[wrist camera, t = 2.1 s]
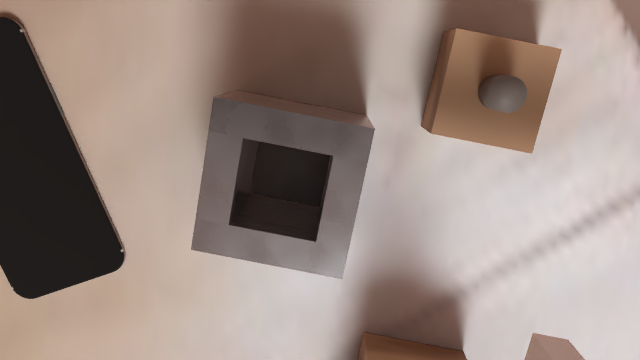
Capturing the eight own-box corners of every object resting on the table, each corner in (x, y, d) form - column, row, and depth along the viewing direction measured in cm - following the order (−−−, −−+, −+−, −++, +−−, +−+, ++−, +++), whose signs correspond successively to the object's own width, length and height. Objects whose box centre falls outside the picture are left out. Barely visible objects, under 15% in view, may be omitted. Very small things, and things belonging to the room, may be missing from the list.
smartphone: (18, 304, 31) (-108, 59, 28) (25, 299, 32) (-97, 58, 29) (130, 266, 30) (13, 10, 27) (135, 261, 31) (21, 11, 28)
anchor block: (443, 32, 27) (467, 24, 22) (537, 51, 27) (581, 47, 23) (421, 126, 28) (438, 139, 24) (511, 144, 28) (548, 160, 24)
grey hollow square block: (239, 90, 28) (213, 96, 22) (366, 115, 28) (374, 128, 23) (219, 213, 30) (191, 249, 24) (340, 237, 30) (342, 278, 24)
